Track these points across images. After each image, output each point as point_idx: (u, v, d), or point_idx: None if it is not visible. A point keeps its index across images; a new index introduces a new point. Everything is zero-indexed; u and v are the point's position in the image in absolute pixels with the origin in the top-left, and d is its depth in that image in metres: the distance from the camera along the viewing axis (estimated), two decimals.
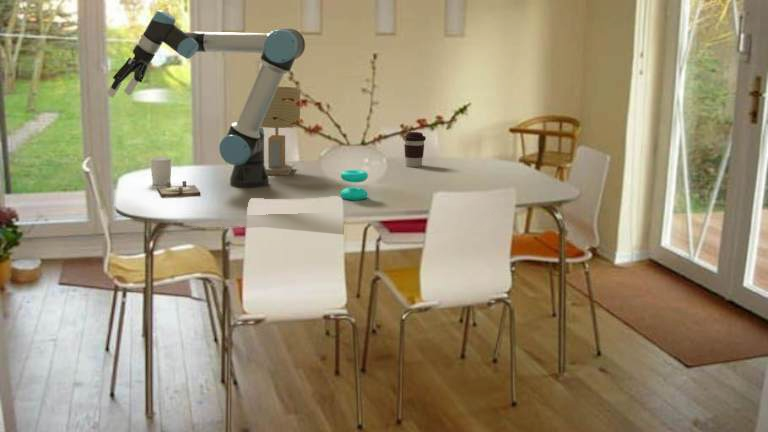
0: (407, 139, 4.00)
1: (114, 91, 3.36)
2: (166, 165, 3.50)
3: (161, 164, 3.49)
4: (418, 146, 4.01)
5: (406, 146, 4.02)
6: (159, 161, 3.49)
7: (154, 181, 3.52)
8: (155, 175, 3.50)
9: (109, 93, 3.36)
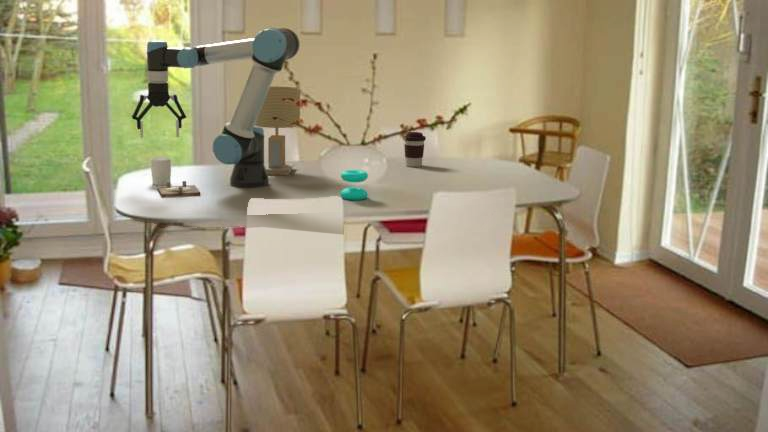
0: (407, 139, 4.00)
1: (140, 131, 3.46)
2: (166, 164, 3.50)
3: (161, 164, 3.49)
4: (418, 146, 4.01)
5: (406, 146, 4.02)
6: (159, 161, 3.49)
7: (154, 181, 3.52)
8: (155, 175, 3.50)
9: (140, 135, 3.48)
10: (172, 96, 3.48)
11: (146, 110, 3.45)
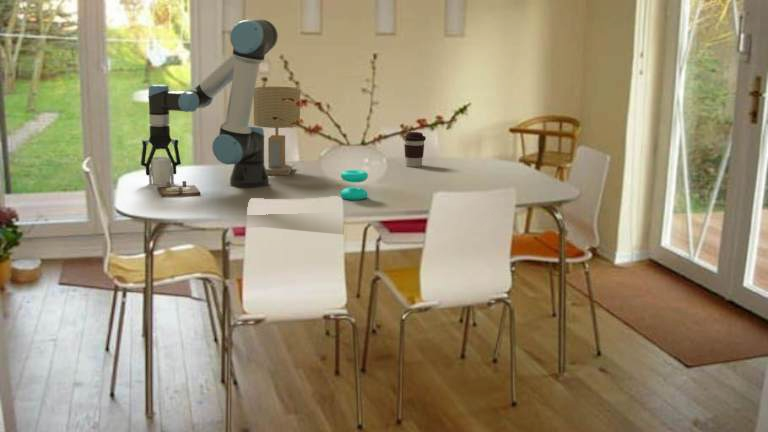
0: (407, 139, 4.00)
1: (149, 177, 3.52)
2: (166, 164, 3.50)
3: (161, 164, 3.49)
4: (418, 146, 4.01)
5: (406, 146, 4.02)
6: (159, 161, 3.49)
7: (154, 181, 3.52)
8: (155, 175, 3.50)
9: (149, 181, 3.53)
10: (173, 140, 3.52)
11: (152, 155, 3.50)
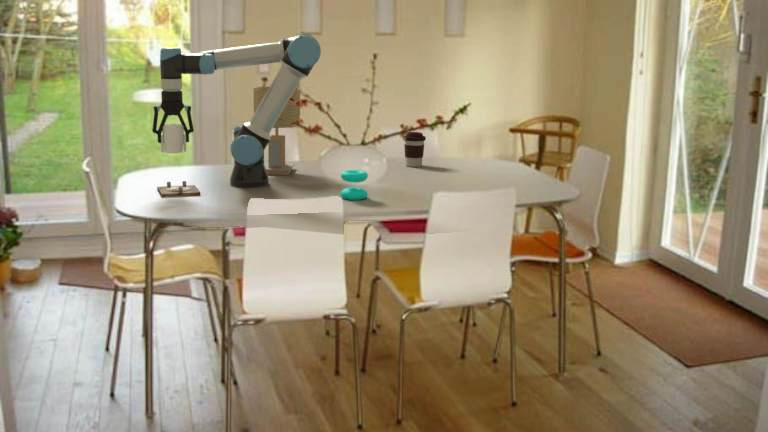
0: (407, 139, 4.00)
1: (161, 145, 3.36)
2: (179, 132, 3.34)
3: (173, 131, 3.33)
4: (418, 146, 4.01)
5: (406, 146, 4.02)
6: (171, 128, 3.33)
7: (165, 149, 3.36)
8: (167, 143, 3.35)
9: (161, 149, 3.37)
10: (186, 106, 3.36)
11: (163, 121, 3.34)
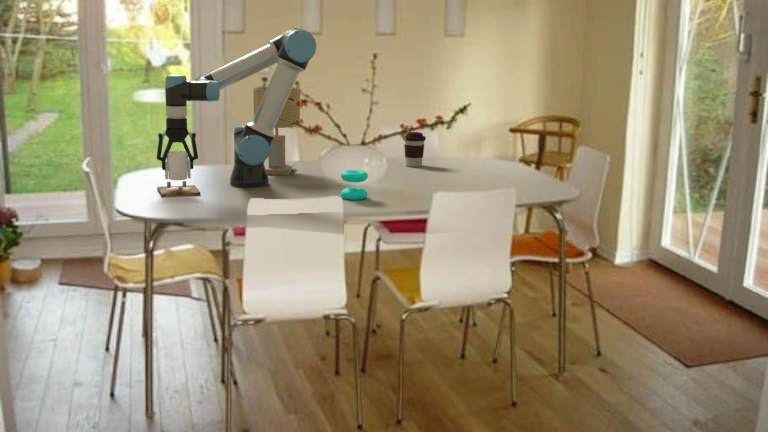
0: (407, 139, 4.00)
1: (165, 172, 3.34)
2: (183, 159, 3.33)
3: (178, 158, 3.32)
4: (418, 146, 4.01)
5: (406, 146, 4.02)
6: (176, 155, 3.31)
7: (170, 176, 3.35)
8: (171, 170, 3.33)
9: (165, 176, 3.36)
10: (191, 133, 3.35)
11: (168, 149, 3.32)
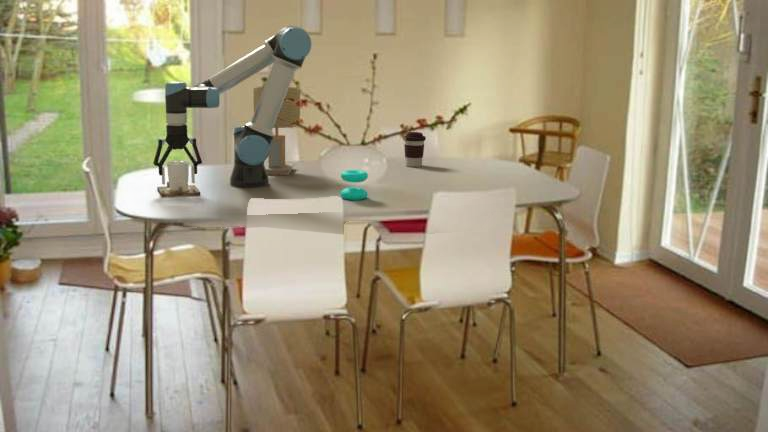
0: (407, 139, 4.00)
1: (162, 177, 3.34)
2: (184, 169, 3.34)
3: (178, 168, 3.33)
4: (418, 146, 4.01)
5: (406, 146, 4.02)
6: (176, 165, 3.32)
7: (171, 186, 3.36)
8: (172, 180, 3.34)
9: (162, 181, 3.36)
10: (191, 139, 3.35)
11: (166, 155, 3.33)
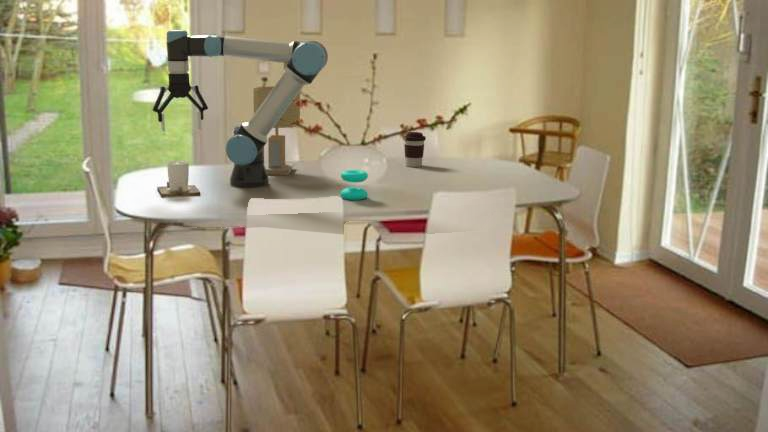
0: (407, 139, 4.00)
1: (162, 124, 3.35)
2: (184, 169, 3.34)
3: (178, 168, 3.33)
4: (418, 146, 4.01)
5: (406, 146, 4.02)
6: (176, 165, 3.32)
7: (171, 186, 3.36)
8: (172, 180, 3.34)
9: (162, 128, 3.37)
10: (193, 87, 3.38)
11: (167, 102, 3.34)
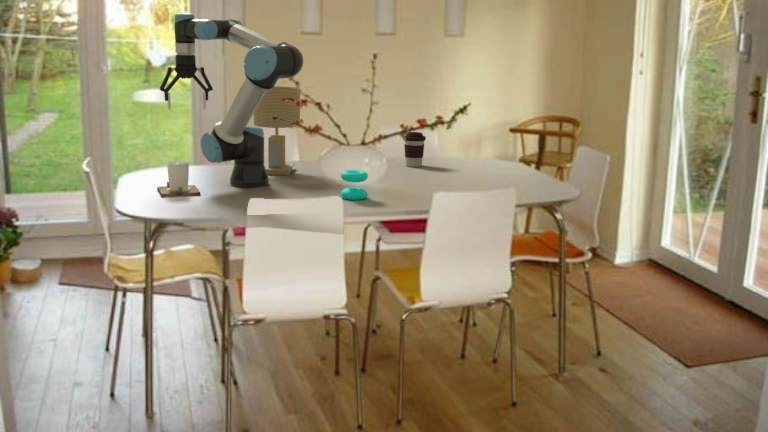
0: (407, 139, 4.00)
1: (168, 103, 3.51)
2: (184, 169, 3.34)
3: (178, 168, 3.33)
4: (418, 146, 4.01)
5: (406, 146, 4.02)
6: (176, 165, 3.32)
7: (171, 186, 3.36)
8: (172, 180, 3.34)
9: (168, 107, 3.52)
10: (199, 68, 3.52)
11: (174, 82, 3.49)
